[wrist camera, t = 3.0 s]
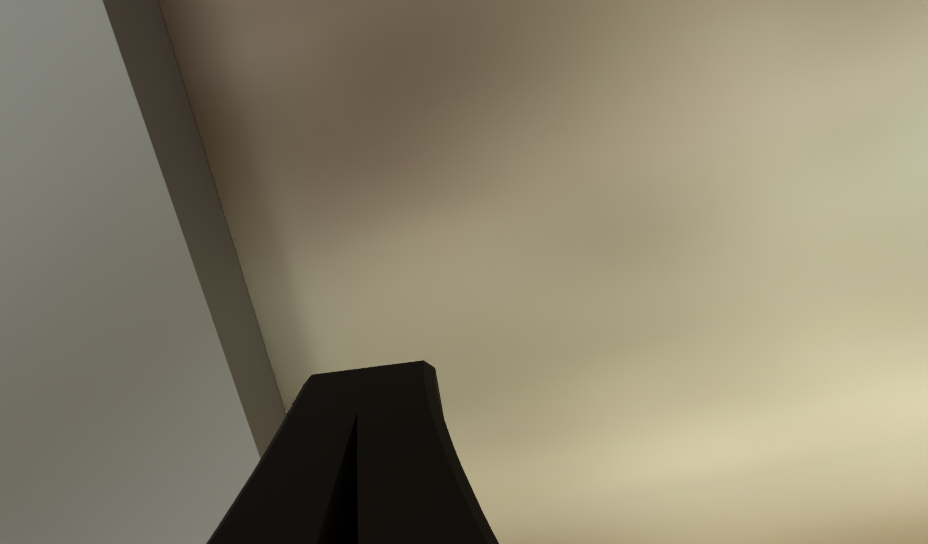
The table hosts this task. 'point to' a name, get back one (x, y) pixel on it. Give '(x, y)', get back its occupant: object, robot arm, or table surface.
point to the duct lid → (100, 308)
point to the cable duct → (197, 207)
